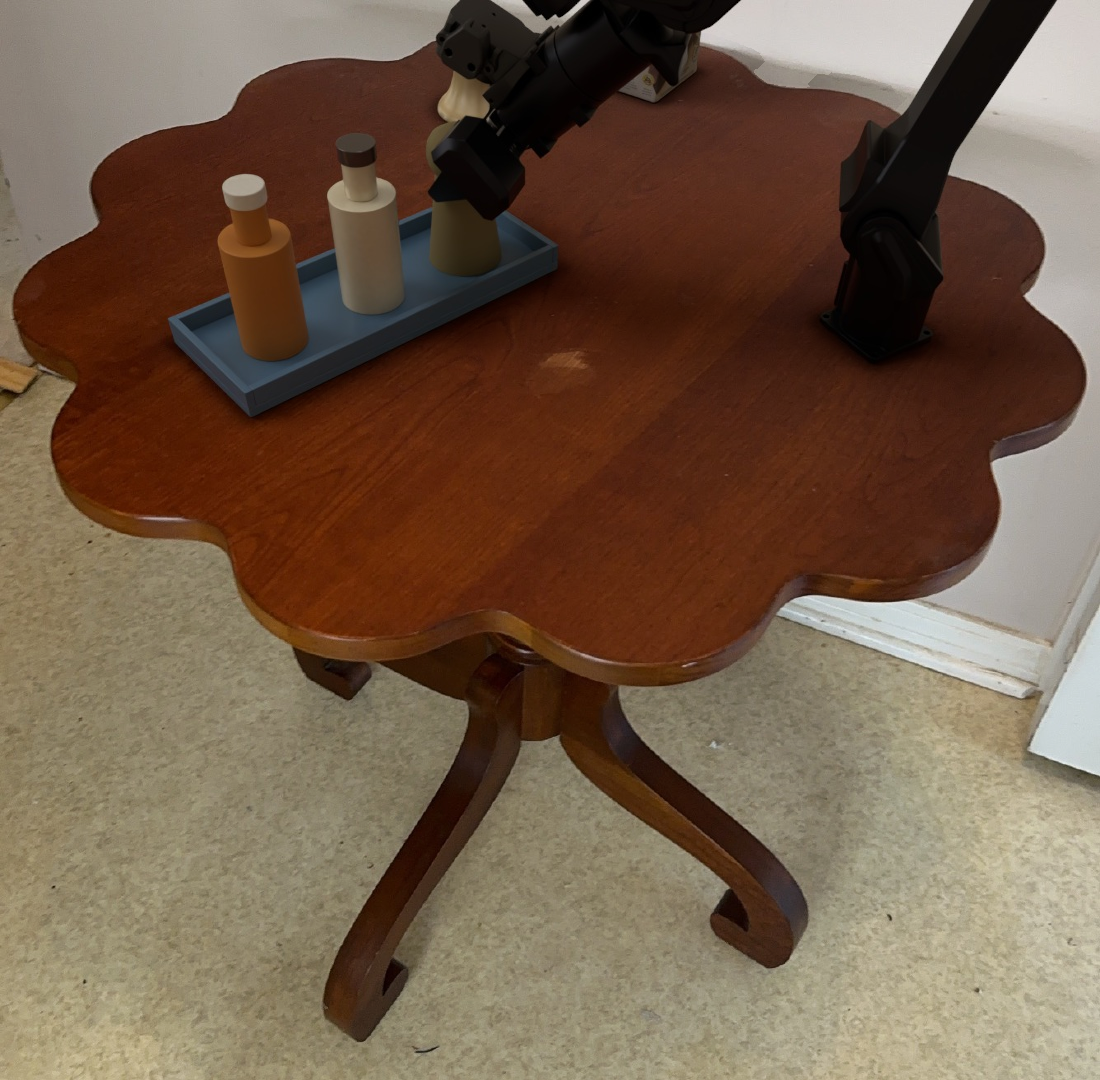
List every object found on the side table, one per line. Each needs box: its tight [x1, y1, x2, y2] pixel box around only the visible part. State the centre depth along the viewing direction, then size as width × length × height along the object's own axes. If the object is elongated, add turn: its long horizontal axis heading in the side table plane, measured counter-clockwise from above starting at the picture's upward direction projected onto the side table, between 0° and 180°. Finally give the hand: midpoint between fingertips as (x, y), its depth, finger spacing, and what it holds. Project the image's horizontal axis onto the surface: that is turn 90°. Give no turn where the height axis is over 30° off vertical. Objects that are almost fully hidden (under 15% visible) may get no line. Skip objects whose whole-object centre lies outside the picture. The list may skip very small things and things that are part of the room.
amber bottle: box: [217, 173, 309, 361], centre depth 78 cm, size 5×5×13 cm
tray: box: [167, 206, 559, 418], centre depth 87 cm, size 29×11×2 cm, turn 131°
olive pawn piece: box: [425, 121, 502, 276], centre depth 87 cm, size 6×6×11 cm
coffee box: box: [618, 31, 702, 103], centre depth 109 cm, size 9×6×16 cm
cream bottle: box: [326, 132, 405, 315], centre depth 82 cm, size 5×5×13 cm
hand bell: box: [437, 70, 490, 123], centre depth 103 cm, size 8×8×16 cm
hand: (445, 180), depth 86 cm, fingers closed on olive pawn piece, 5 cm apart
